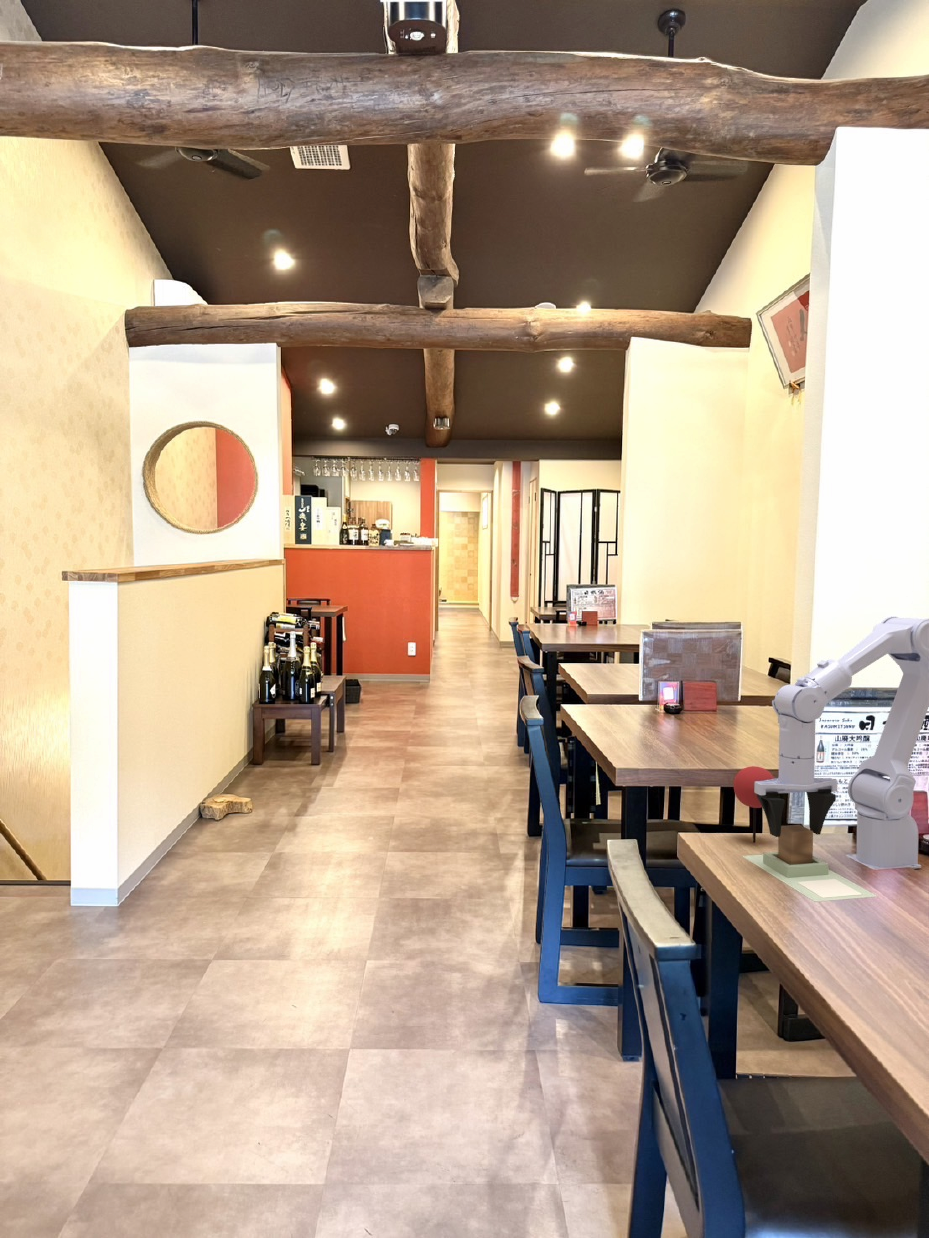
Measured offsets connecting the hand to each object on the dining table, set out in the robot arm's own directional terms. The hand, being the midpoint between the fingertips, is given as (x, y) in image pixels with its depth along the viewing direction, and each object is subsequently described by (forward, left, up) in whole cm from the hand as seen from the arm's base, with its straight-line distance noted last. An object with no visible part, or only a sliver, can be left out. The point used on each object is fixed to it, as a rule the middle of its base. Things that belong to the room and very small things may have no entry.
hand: (795, 834), depth 144 cm
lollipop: (-1, -15, -7) cm, 17 cm away
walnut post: (0, 0, -6) cm, 6 cm away
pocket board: (0, +3, -7) cm, 7 cm away
